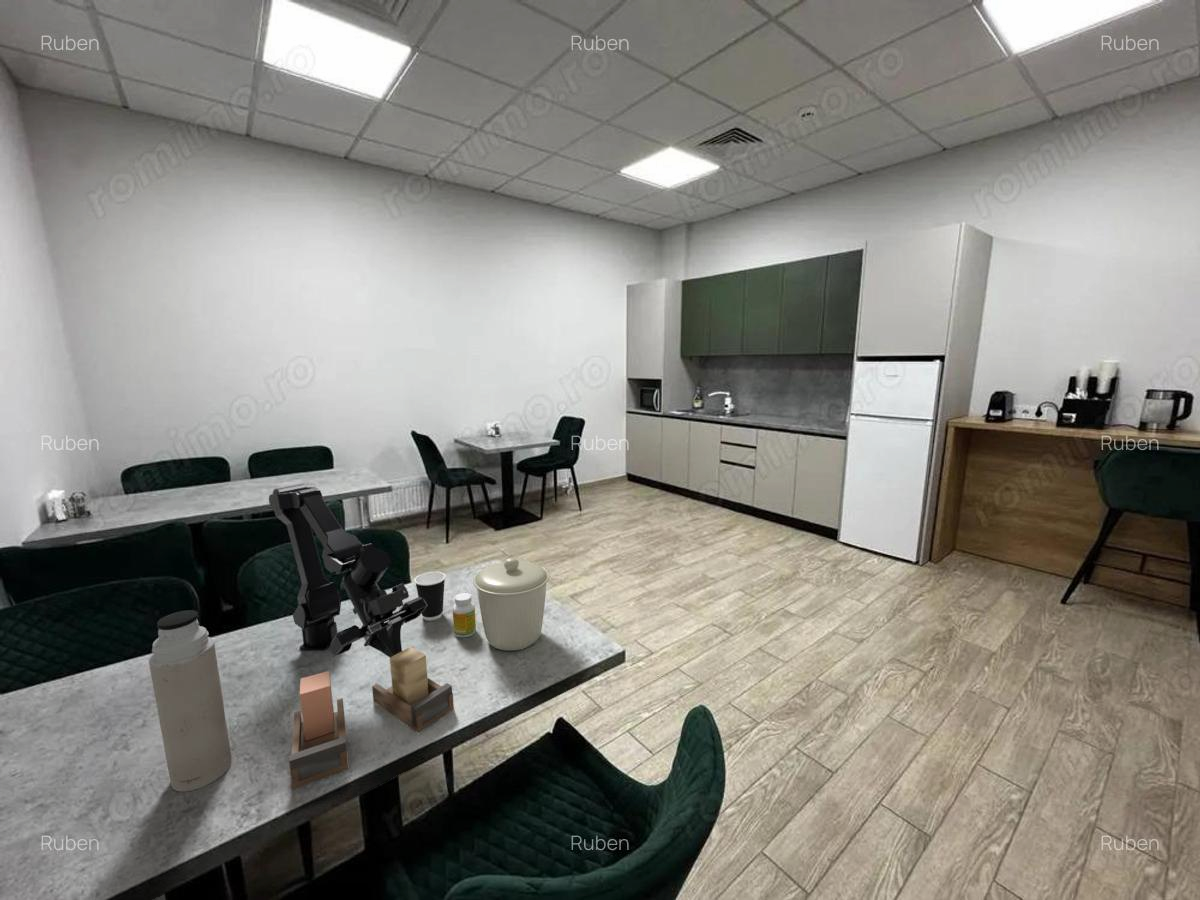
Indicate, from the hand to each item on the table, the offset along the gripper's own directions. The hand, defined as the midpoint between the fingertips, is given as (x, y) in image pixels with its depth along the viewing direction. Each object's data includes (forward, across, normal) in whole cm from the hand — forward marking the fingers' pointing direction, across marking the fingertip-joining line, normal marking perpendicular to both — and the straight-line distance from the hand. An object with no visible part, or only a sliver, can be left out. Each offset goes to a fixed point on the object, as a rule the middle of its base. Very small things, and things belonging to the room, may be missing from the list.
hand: (400, 661), depth 98 cm
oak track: (+8, 0, +4) cm, 9 cm away
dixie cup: (-10, +24, +22) cm, 34 cm away
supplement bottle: (-1, +24, +13) cm, 27 cm away
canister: (+8, +29, +4) cm, 30 cm away
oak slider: (+7, 0, +3) cm, 8 cm away
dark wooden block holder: (+6, -16, +6) cm, 18 cm away
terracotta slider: (+2, -14, +8) cm, 16 cm away
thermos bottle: (-2, -30, +14) cm, 33 cm away
